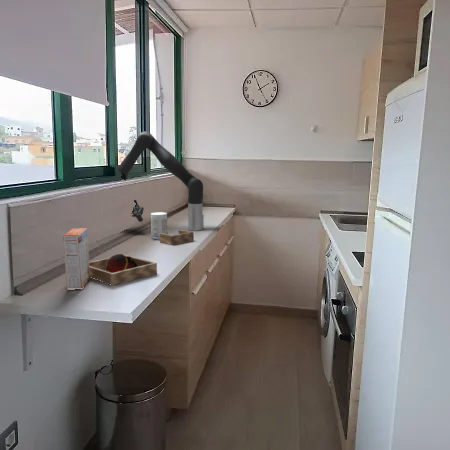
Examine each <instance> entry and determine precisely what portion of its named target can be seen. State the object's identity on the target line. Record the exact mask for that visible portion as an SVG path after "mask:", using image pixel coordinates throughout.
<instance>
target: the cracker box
mask: <svg viewBox="0 0 450 450" xmlns="http://www.w3.org/2000/svg"><path fill="white" fill-rule="evenodd" d="M88 236H89V235H88V228H86V227H73V228H71V229H70V230H69V231H68V232H66V233H65V234H63V235H62V240H63V241H62V242H63V243H62V244H63V255H64V268H65V281H66V283H65V284H66V289H67V288H83V287H84V286H85V287H86V285H87V284H88V282H89V281H90V280H89V279H91V278H90V268H89V262H90V257H89V255H90V254H89V239H88ZM88 280H89V281H88ZM86 283H87V284H86ZM85 284H86V285H85ZM85 287H84V288H85ZM84 288H83V289H84Z"/></svg>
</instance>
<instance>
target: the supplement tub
mask: <svg viewBox="0 0 450 450" xmlns="http://www.w3.org/2000/svg"><path fill="white" fill-rule="evenodd" d="M168 227H169V225H168V213H167V212H160V211H159V212H158V211H157V212H151V213H150V229H151V230H150V231H151V238H152V239H153V240H160V234H161V233H163V234H168V235H169V228H168Z"/></svg>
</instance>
